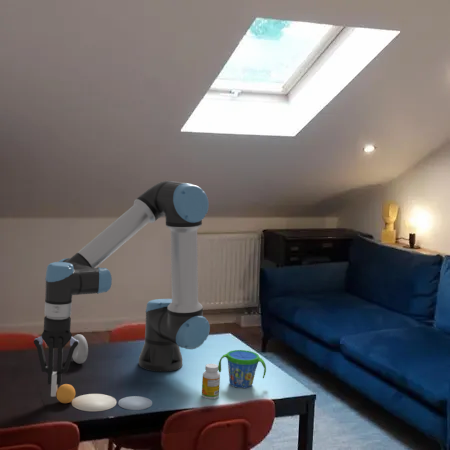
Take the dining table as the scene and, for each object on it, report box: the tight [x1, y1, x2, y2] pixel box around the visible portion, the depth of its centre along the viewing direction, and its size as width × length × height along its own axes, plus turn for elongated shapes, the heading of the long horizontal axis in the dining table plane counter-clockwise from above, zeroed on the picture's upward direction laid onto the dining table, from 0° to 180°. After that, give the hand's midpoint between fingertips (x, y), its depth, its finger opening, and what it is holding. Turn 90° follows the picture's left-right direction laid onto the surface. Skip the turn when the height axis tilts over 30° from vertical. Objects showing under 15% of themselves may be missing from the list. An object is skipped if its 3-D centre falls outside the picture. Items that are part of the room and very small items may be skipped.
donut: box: [72, 333, 89, 365], centre depth 236 cm, size 10×4×10 cm, turn 34°
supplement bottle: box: [201, 363, 221, 400], centre depth 213 cm, size 5×5×10 cm
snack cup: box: [217, 349, 267, 389], centre depth 224 cm, size 16×10×10 cm
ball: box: [56, 383, 76, 404], centre depth 201 cm, size 6×6×6 cm
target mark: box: [71, 393, 118, 412], centre depth 203 cm, size 13×13×1 cm
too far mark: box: [117, 395, 153, 411], centre depth 204 cm, size 10×10×1 cm
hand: (53, 394), depth 201 cm, fingers closed
